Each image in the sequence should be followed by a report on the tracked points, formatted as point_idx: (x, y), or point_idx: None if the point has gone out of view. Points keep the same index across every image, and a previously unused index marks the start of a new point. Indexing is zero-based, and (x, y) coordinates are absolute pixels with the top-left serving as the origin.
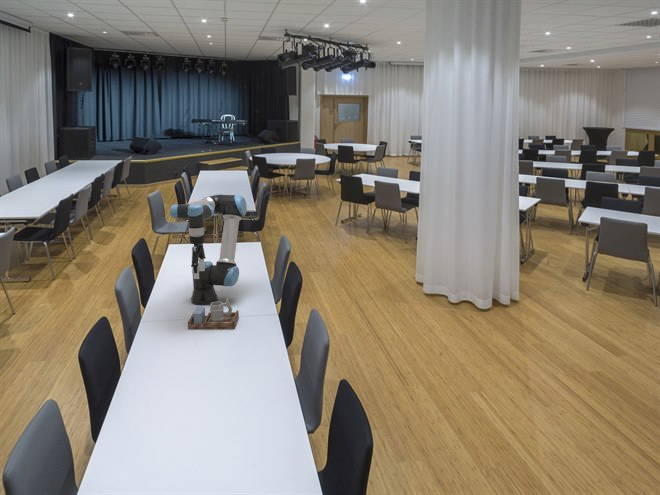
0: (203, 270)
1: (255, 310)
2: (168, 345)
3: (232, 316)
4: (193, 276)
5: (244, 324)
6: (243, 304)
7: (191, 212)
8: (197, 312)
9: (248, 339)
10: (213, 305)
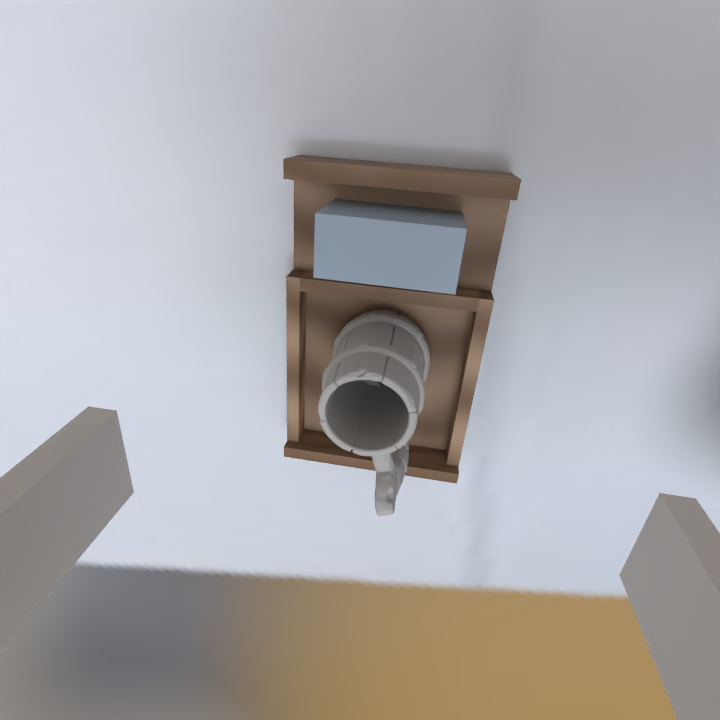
0: (630, 572)
1: (560, 530)
2: (37, 58)
3: (447, 430)
4: (49, 438)
5: (359, 471)
6: (699, 482)
7: None
8: (339, 245)
9: (181, 476)
10: (322, 396)
